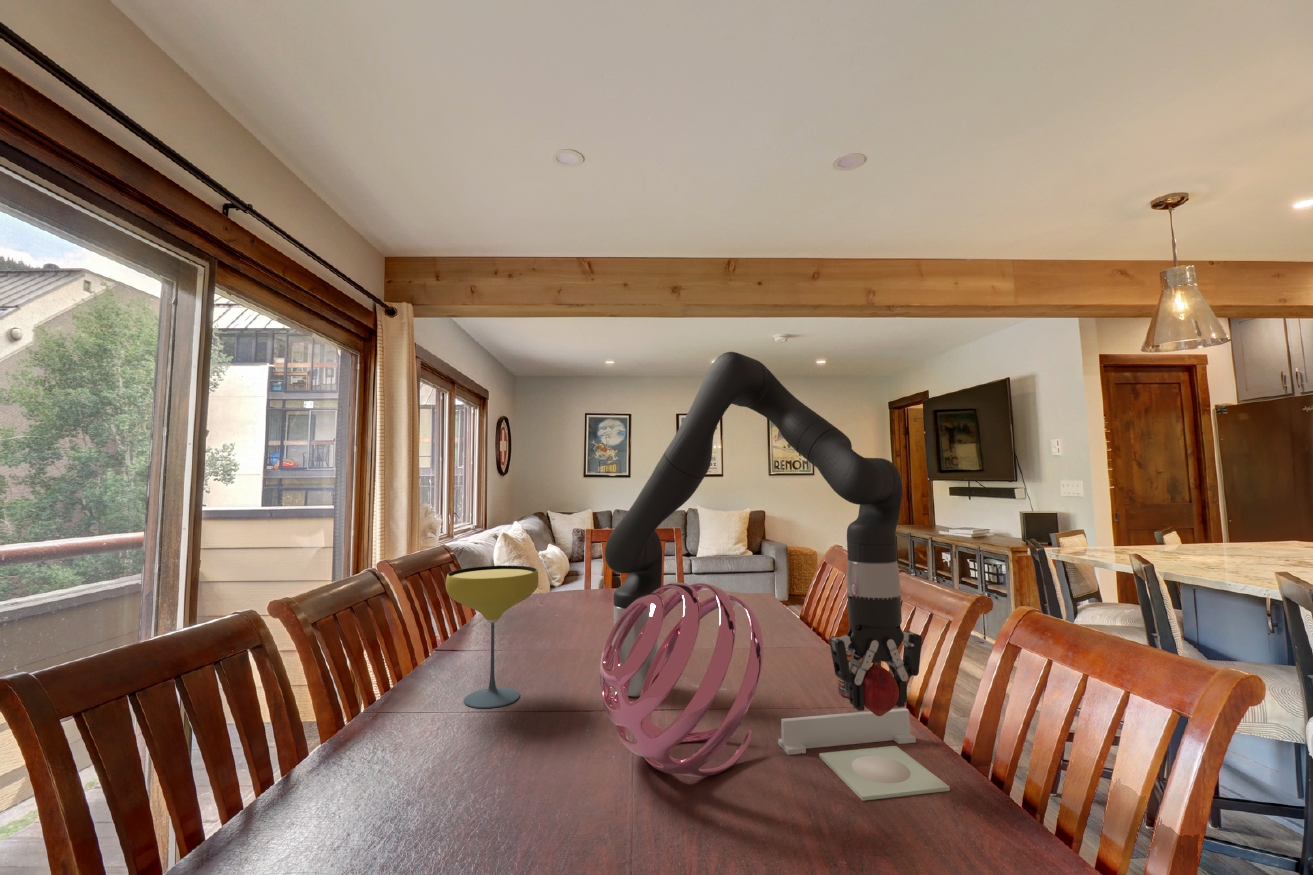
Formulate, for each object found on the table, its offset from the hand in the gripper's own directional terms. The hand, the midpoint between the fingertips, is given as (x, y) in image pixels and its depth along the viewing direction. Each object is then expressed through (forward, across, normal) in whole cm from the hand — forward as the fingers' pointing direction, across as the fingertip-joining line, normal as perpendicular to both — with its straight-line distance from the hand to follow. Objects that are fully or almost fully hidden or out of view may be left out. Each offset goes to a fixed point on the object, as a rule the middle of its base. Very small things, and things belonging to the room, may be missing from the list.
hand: (878, 706), depth 87 cm
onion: (+2, 0, 0) cm, 2 cm away
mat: (+9, 0, 0) cm, 9 cm away
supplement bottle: (+10, -12, -30) cm, 34 cm away
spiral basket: (+9, +28, -10) cm, 31 cm away
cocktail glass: (+9, +59, -43) cm, 74 cm away
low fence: (+9, 0, -10) cm, 14 cm away
